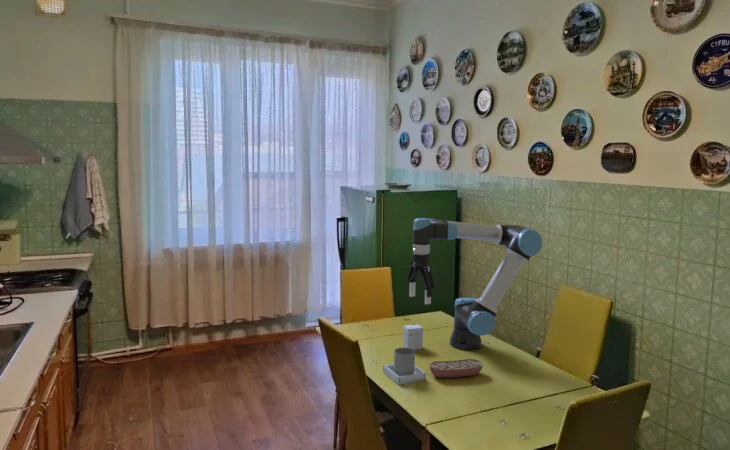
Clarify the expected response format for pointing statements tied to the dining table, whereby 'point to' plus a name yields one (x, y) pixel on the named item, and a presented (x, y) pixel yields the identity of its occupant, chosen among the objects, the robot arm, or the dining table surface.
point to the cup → (404, 361)
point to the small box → (413, 337)
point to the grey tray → (415, 377)
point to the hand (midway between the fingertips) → (419, 300)
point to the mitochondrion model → (456, 368)
